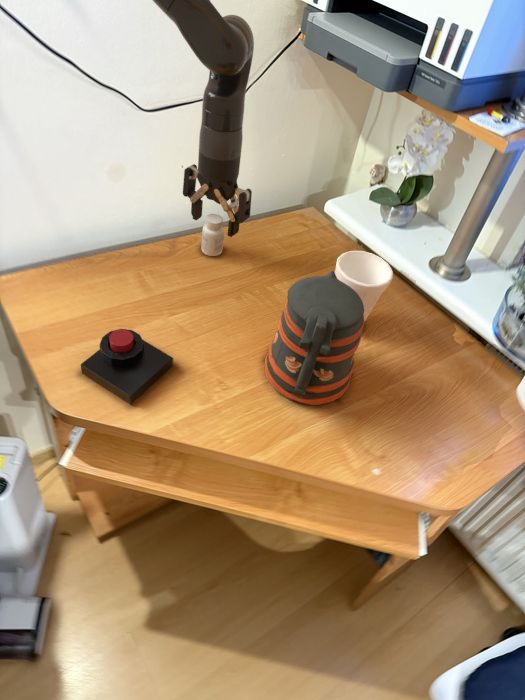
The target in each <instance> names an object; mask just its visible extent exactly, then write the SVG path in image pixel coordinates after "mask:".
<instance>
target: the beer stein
mask: <svg viewBox="0 0 525 700" xmlns="http://www.w3.org/2000/svg"><path fill="white" fill-rule="evenodd" d="M286 298H287V300H286V301H285V305H284V308H283V310H282V312H281V313H280V317H279V319H278V328H277V330H276V333H275V335H274V336H273V337H272V339H271V341H270V343H269V346H268V350H267V354H266V356H265V358H264V371H265V372H264V373H265V375H266V378H267V380H268V382H269V383H270V385H271V386H272V388H274V389H275V391H276V392H277V393H278V394H280V395H281V396H283V397H284V398H286V399H288V400H291V401H293V402H296V403H298V404H305V405H311V406H319V405H323V404H328V403H332V402H334V401H336V400H337V399H340V398H341V397H342V396H343V395H344V394H345V393H346V391H348V388H349V386H350V383H351V379H352V374H353V371H354V368H355V353H356V352H357V350H358V348H359V346H360V343H361V340H362V334H363V330H364V326H365V322H366V320H364V305H363V302H362V300H361V298H360V296H359V295H358V294H357V293H356V291H354V290H353V289H352V288H351V287H349V286H348V285H346V284H345V283H343V282H341V281H340V280H338V279H337V277H336V275H335V270H331V271H330V272H328V273H327V274H326V275H315V276H309V277H305V278H302V279H298V280H297V281H295V282H294V283H293V284H291V286H290V287H289V288H288V290H287V295H286ZM364 321H365V322H364Z"/></svg>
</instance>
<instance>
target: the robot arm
mask: <svg viewBox="0 0 525 700" xmlns="http://www.w3.org/2000/svg"><path fill="white" fill-rule="evenodd" d="M152 2H153V3H154V4H155V5H156V6H157V7H158V8H159V10H161V12H163V13H164V15H166V16H167V18H168V19H169V20H170V21H172V22H173V23H174V24H175V26H176V27H177V29H178V31H179V32H180V34H181V36H182V37H183V39H184V41H185V42H186V44H187V45H188V46H189V48H190V49H191V51H192V52H193V54H194V55H195V56H196V58H197V60H199V61H200V63H201V64H202V65H203V66H204V67H205V68H206V69H207V70H209V72H208V73H209V74H208V81H207V84H206V86H205V88H204V90H203V95H202V105H201V106H202V108H201V122H200V123H201V124H200V129H199V137H198V158H197V159H198V160H197V164H195V163H193V164H192V165H190V166H187V167H186V168H184V171H183V172H184V173H183V183H182V184H183V185H182V195H183V197H184V198H189V202H190V203H191V207H190V208H191V209H190V214H191V216H192V220H194V221H198V220H199V219H201V218H202V216H203V206H204V205H203V202H204V200H202V199H203V198H204V197H206V199H207V200H210V201H213V202H215V203H216V204H218V205H220V206H221V207H222V210H223V212H225V213H226V215H227V216H228V219H229V220H228V225H227V226H228V227H227V237H230V238H232V237H234V236H235V235H237V234H238V233H239V231H240V224H242V223H244V222H246V220H248V219H249V218H250V217H251V209H252V193H253V191H252V189H251V188H246V189H243V188H241V187H239V185H238V179H239V175H240V167H241V157H242V148H243V139H244V138H243V125H244V116H245V115H244V114H245V107H246V106H245V105H246V103H245V101H246V100H245V99H246V92H247V88H248V83H249V78H250V73H251V67H252V63H253V56H254V51H255V39H254V34H253V31H252V28H251V26H250V24H249V23H248V22H247V21H246V20H245V19H244V18H243V17H242V16H239V15H237V14H228V15H227V14H226V15H224V16H222V15H221V13H220V12H219V10H218V9H217V8H216V7H215V5H214V4H213V2H212V1H211V0H152ZM197 181H198V183H199V185H200V188H198V189H197V190H196V188H197V187H196V185H197ZM229 201H230V203H229Z"/></svg>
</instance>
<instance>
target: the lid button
mask: <svg viewBox="0 0 525 700" xmlns="http://www.w3.org/2000/svg"><path fill="white" fill-rule="evenodd" d="M120 329H121V330H118V329H115V330H116V331H114V330H113V331H114V332H112V333H111V335H110V337H109V341H110V348H111V349H112V351H114V352H116V353H121V354H123V353H127V352H129V351H131V350H132V348H133V346H134V341H133V335H132V333H131V332H130V331H127V330H128V329H127V330H123V329H124V328H120Z"/></svg>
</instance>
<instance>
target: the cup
mask: <svg viewBox="0 0 525 700" xmlns="http://www.w3.org/2000/svg"><path fill="white" fill-rule="evenodd" d="M334 272H335V275H336V277H337V279H338V280H340V281H341V282H343V283H345V284H346V285H348V286H349V287H351V288H352V289H353V290H354V291H356V293H357V294H358V295H359V296H360V298H361V300H362V302H363V305H364V320H365V321H364V323H365V322H366V320H367V319H368V317H369V315H370V314H371V312H372V311H373V309H374V307H375V306H376V304H377V302H378V300H379V299H380V297H381V295H382V294H383V293H384V291H386V290H387V288H388V287H389V286H390V284H391V282H392V281H393V277H394V271H393V269H392V267H391V266H390V264H389V263H388V262H387V261H386V260H384V259H383V258H382V257H381V256H378V255H377V254H375V253H371V252H368V251H364V250H350V251H346V252H343V253H342V254H340V255H339V256H338V257H337V259H336V263H335V268H334Z"/></svg>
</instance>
